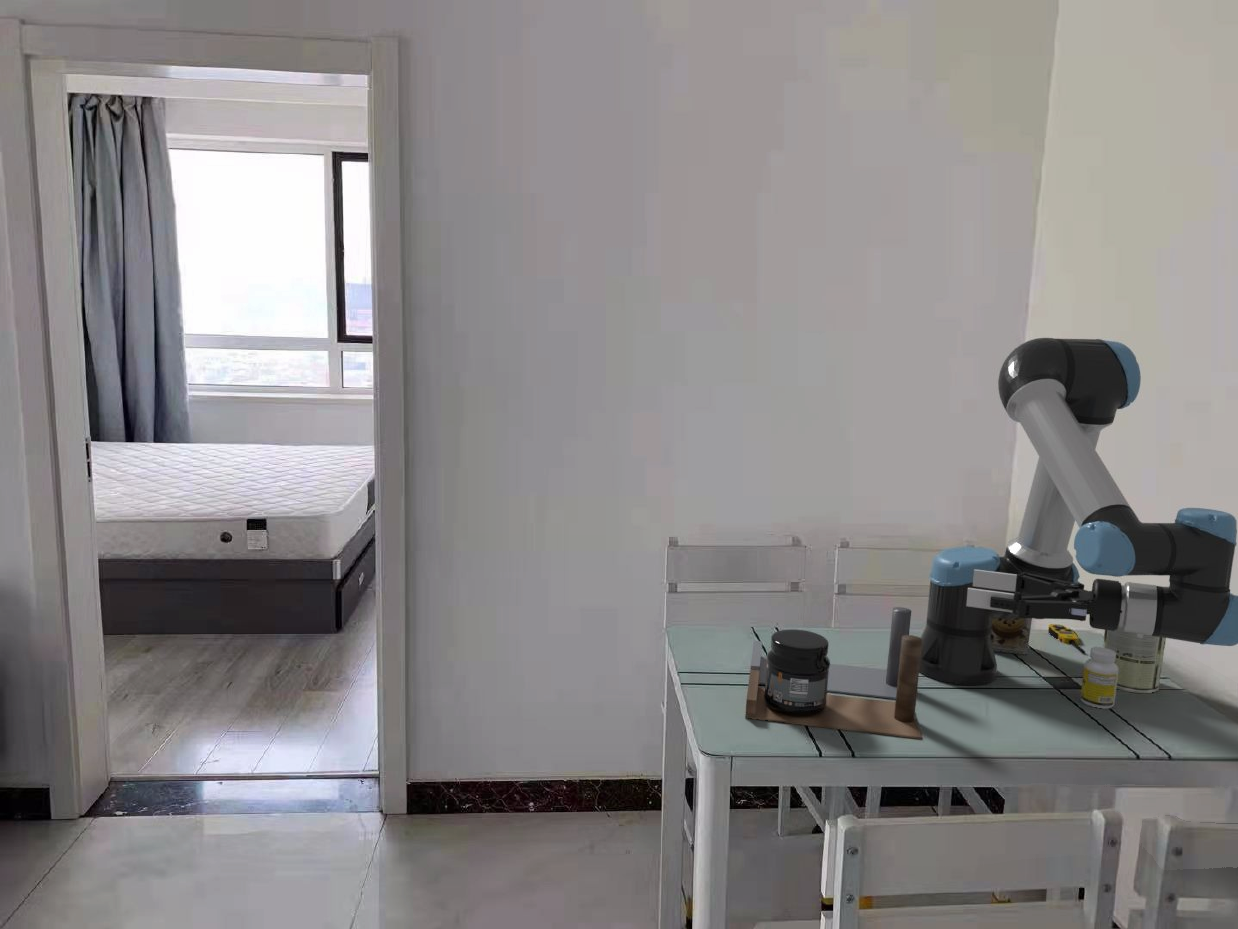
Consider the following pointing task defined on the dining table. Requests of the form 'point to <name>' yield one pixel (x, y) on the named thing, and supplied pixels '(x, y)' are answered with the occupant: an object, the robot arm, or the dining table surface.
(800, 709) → the supplement container
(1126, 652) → the coffee can
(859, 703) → the wooden peg stand
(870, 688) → the grey l-shaped stand
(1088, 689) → the supplement bottle
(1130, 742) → the dining table surface
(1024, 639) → the cookie box
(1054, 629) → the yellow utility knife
